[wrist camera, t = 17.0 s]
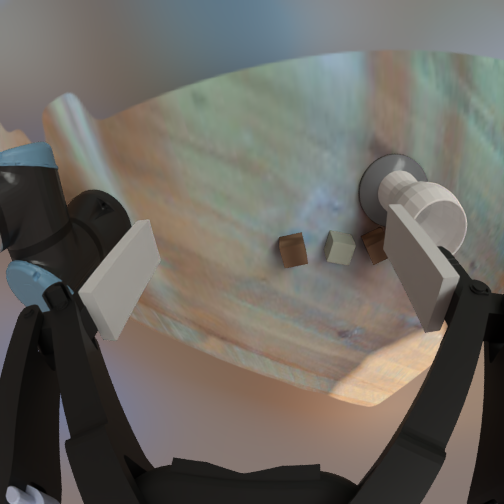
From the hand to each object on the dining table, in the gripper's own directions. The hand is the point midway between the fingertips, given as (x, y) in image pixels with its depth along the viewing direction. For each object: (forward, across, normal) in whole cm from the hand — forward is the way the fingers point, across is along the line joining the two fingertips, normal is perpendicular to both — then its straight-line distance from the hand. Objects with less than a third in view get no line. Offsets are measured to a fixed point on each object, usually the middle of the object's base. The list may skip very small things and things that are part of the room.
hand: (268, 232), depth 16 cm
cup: (+31, +20, -10) cm, 38 cm away
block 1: (+32, +2, -19) cm, 37 cm away
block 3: (+32, +17, -19) cm, 41 cm away
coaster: (+32, +20, -10) cm, 39 cm away
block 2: (+32, +10, -19) cm, 38 cm away
